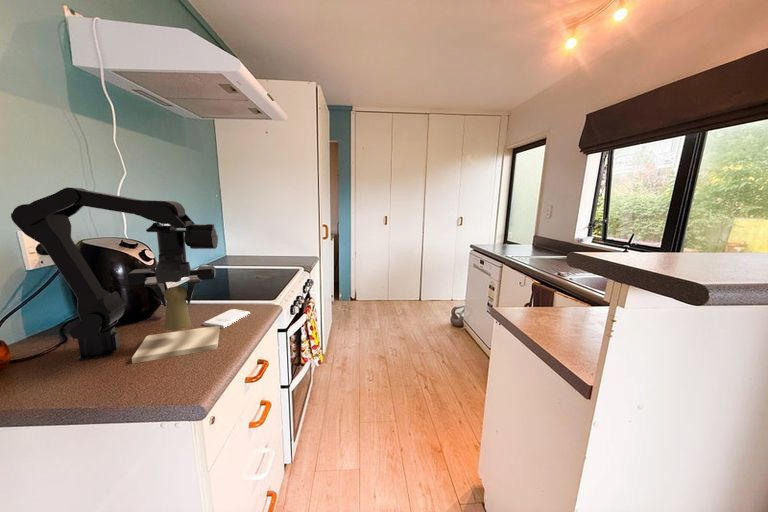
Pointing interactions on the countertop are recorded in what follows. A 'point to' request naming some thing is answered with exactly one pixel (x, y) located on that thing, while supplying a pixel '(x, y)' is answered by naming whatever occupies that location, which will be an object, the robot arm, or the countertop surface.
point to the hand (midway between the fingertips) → (177, 304)
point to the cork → (176, 309)
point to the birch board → (177, 344)
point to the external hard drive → (226, 318)
